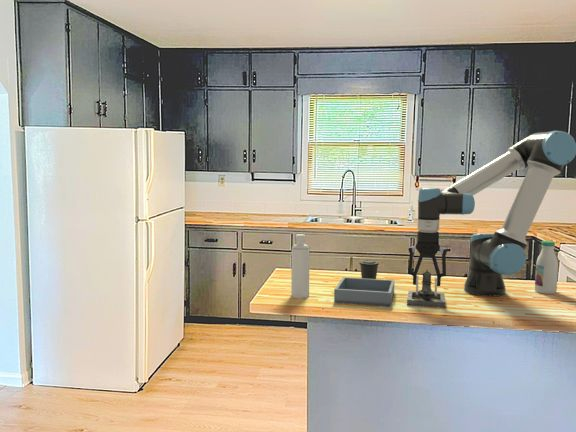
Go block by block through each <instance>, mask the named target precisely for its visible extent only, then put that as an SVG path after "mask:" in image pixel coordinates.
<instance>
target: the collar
mask: <svg viewBox="0 0 576 432" xmlns="http://www.w3.org/2000/svg"><path fill="white" fill-rule="evenodd" d="M445 295H446V294H445V293H444V292H437V296H435V294H434V296H433V298H432V299H433V300H432V299H430V300H421V298H420V296H419V293H418V295H416V290H415V291H414V290H408V291H407V298H406V299H407V300H406V306H409V307H410V306H411V307H423V306H424V307H425V308H427V307H428V308H437V307H439V308H442V309H446V297H445ZM416 298H417V299H416ZM439 308H438V309H439Z"/></svg>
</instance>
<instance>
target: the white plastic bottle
mask: <svg viewBox="0 0 576 432" xmlns="http://www.w3.org/2000/svg"><path fill="white" fill-rule="evenodd" d="M295 241H296V242H295V244H293V245H292V246H291V297H292V298H295V299H307V298H309V297H310V246H309V244H306V243H305V241H306V234H304V233H303V234H302V233H297V234H295Z"/></svg>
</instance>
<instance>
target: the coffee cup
mask: <svg viewBox="0 0 576 432" xmlns="http://www.w3.org/2000/svg"><path fill="white" fill-rule="evenodd" d="M358 264H359V265H360V274H361V275H360V276H361V277H360V278H365V279H377V275H378V267H379V264H380V263H379V262H378V261H375V260H372V259H370V260H369V259H364V260H361V261H359V263H358Z"/></svg>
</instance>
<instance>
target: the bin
mask: <svg viewBox="0 0 576 432" xmlns="http://www.w3.org/2000/svg"><path fill="white" fill-rule="evenodd" d="M333 291H334V295H333V297H334V299H333V301H334V302H333V303H334V304H345V305H347V304H348V305H359V306H371V307H372V306H374V307H388V308H392V307H391V306H392V303H393V299H394V296H395V279H377V278H376V279H365V278H362V277H345V276H344V277H343V276H342V278H341V279H340V280H339V282H338V284H337V285H336V286H335V288H334V290H333Z"/></svg>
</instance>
